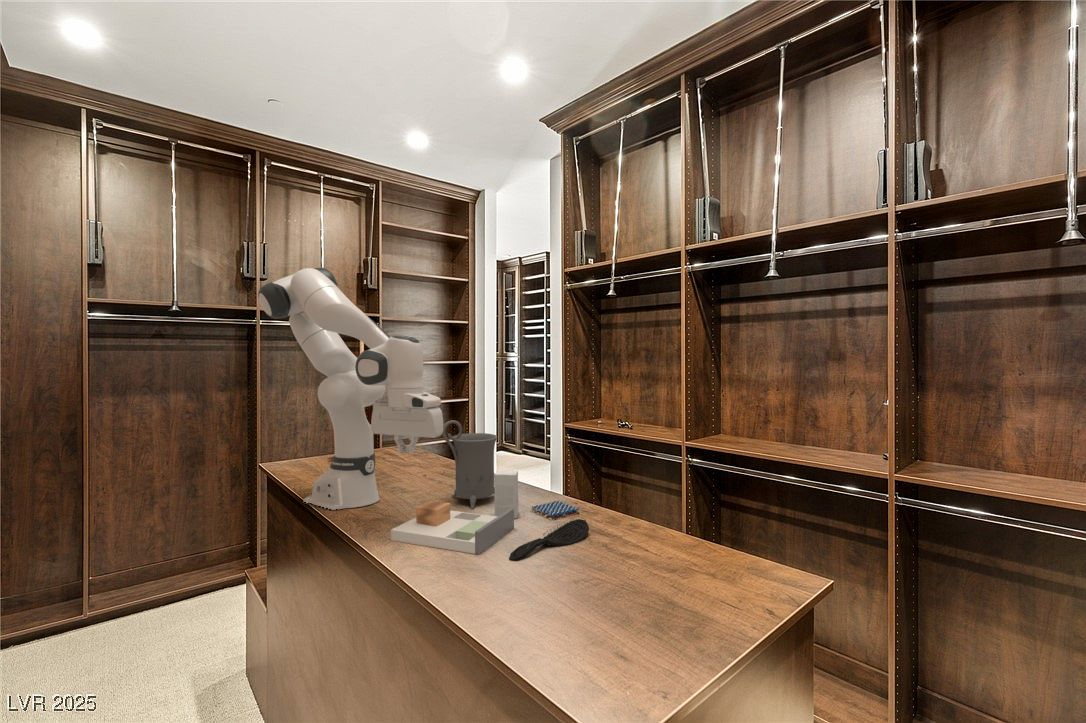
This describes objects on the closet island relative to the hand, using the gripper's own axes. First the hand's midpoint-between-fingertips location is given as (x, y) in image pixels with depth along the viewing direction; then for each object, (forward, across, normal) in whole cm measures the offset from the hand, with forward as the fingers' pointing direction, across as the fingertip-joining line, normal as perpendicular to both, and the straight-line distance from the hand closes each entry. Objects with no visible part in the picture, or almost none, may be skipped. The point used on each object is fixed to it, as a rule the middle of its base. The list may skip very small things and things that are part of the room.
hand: (406, 453), depth 130 cm
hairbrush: (+20, +38, +2) cm, 43 cm away
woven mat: (+20, +31, +25) cm, 44 cm away
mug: (+19, +4, +26) cm, 33 cm away
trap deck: (+19, +14, 0) cm, 24 cm away
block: (+17, +8, 0) cm, 18 cm away
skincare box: (+19, +20, +17) cm, 33 cm away
